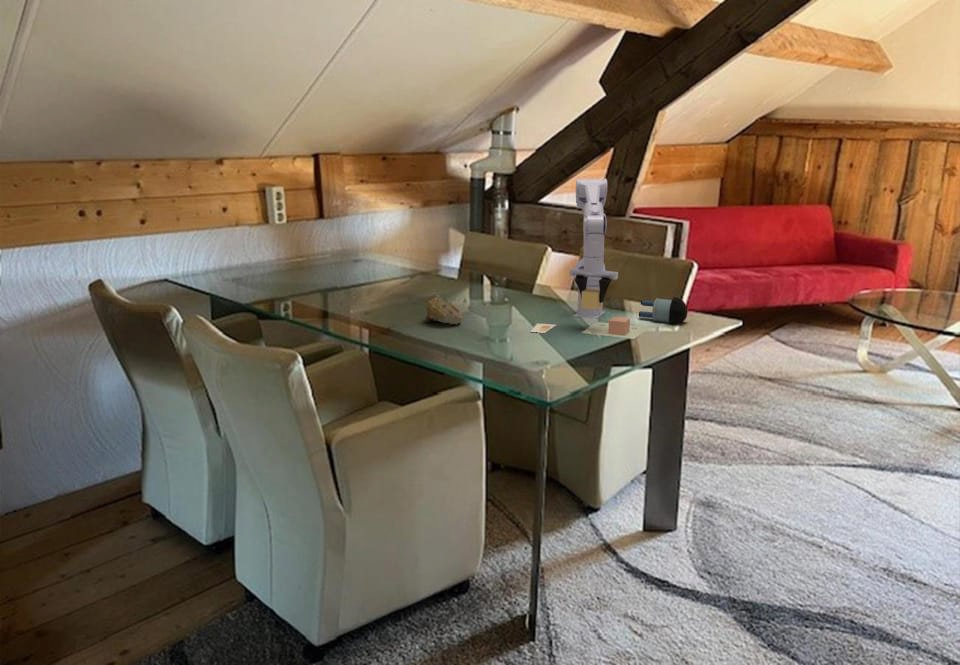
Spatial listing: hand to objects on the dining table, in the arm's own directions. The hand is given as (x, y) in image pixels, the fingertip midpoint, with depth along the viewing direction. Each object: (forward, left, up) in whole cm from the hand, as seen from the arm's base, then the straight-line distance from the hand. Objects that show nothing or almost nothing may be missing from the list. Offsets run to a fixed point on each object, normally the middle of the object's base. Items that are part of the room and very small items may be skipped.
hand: (592, 301), depth 220 cm
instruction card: (+5, -13, -9) cm, 17 cm away
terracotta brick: (+1, +9, -9) cm, 12 cm away
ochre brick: (0, 0, -2) cm, 2 cm away
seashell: (+10, -46, -9) cm, 48 cm away
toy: (-18, +17, -9) cm, 26 cm away
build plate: (-2, +7, -9) cm, 11 cm away
